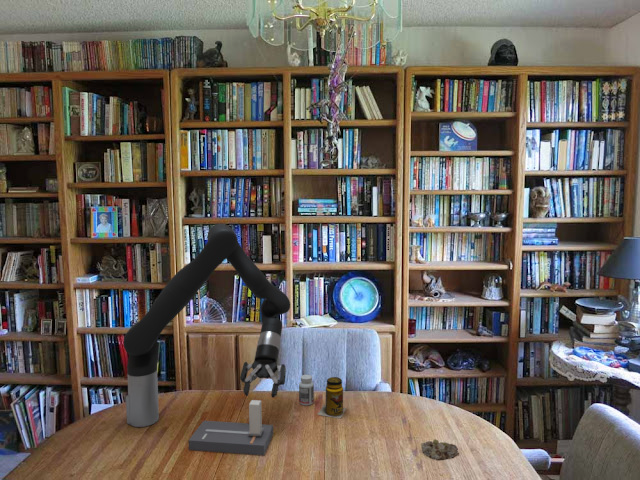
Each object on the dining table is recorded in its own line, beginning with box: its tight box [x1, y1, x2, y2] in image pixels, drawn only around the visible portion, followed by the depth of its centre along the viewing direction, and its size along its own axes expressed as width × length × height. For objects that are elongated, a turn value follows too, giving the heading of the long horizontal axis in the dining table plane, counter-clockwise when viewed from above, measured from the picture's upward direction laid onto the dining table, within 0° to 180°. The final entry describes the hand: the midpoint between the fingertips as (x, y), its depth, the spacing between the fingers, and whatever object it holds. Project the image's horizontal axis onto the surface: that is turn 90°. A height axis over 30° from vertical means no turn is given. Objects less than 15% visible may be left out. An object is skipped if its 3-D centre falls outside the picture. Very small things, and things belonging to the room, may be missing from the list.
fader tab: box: [248, 399, 264, 436], centre depth 141 cm, size 4×4×10 cm
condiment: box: [317, 376, 347, 419], centre depth 161 cm, size 7×8×12 cm
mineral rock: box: [420, 439, 459, 461], centre depth 137 cm, size 11×4×8 cm
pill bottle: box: [298, 374, 315, 406], centre depth 169 cm, size 5×5×10 cm
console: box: [188, 420, 274, 456], centre depth 143 cm, size 23×12×3 cm, turn 83°
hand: (259, 395), depth 145 cm, fingers open, 8 cm apart
